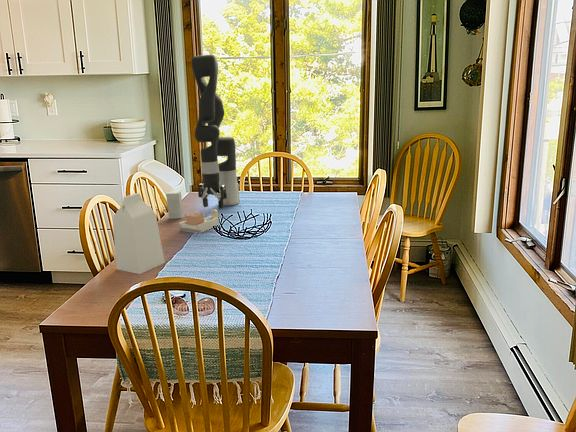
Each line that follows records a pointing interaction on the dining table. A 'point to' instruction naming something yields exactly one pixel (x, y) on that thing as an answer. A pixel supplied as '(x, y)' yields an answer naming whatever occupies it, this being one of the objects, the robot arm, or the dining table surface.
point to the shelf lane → (199, 226)
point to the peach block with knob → (198, 217)
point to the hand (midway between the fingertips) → (213, 207)
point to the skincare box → (174, 204)
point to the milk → (136, 236)
